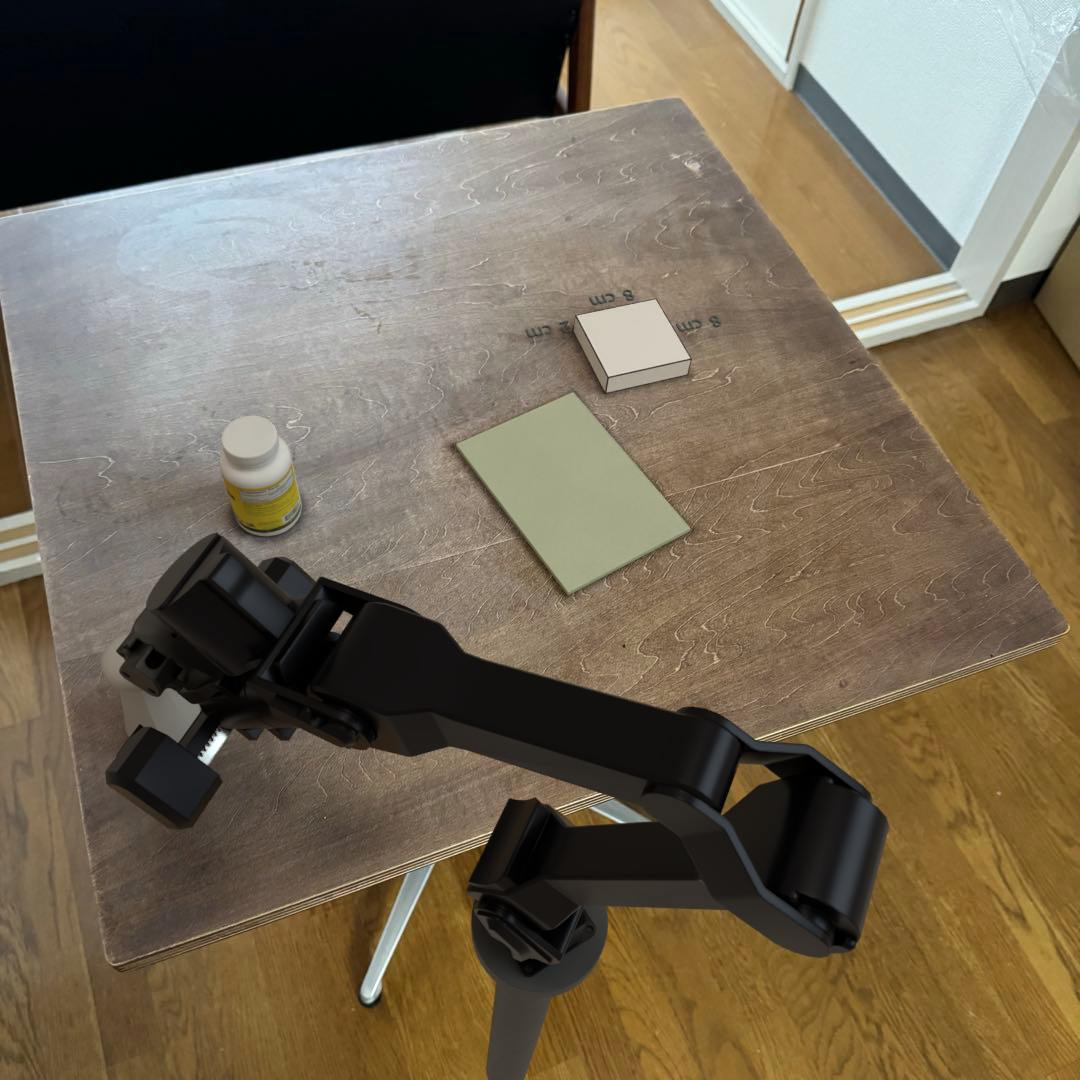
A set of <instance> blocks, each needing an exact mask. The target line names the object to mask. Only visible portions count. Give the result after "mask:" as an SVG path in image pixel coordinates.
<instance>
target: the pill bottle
mask: <svg viewBox="0 0 1080 1080" xmlns="http://www.w3.org/2000/svg"><path fill="white" fill-rule="evenodd" d="M220 440H221V446H222V449H221V451H220V454H219V458H218V464H219V469H220V473H221V476H222V480H223V483H224V486H225V490H226V492H227V496H228V498H229V501H230V505H231V509H232V511H233V514H234V518H235V520H236V522H237V524H238V525H239V526H240V527H241V528H242V529H243V530H244V531H245V532H247V533H249V534H252V535H254V536H258V537H259V536H260V537H274V536H277V535H280V534H283V533H285V532H287V531H289V530H290V529H291V528H293V526H294V525H295V524H296V523H297V522H298V520H299V518H300V517H301V514H302V510H303V509H302V508H303V503H302V497H301V493H300V488H299V485H298V479H297V476H296V475H297V474H296V471H295V466H294V462H293V461H294V460H293V456H292V452H291V450H290V447H289V445H288V444H287V442H286V441H285V440H284V439H283V438H282V437H280V436H279V434H278V431H277V428H276V427H275V425H274V423H272V422H271V420H268V419H267V418H265V417H263V416H259V415H246V416H241V417H237V418H235V419H234V420H232V421H230V423H228V424H227V425H226V426H225V427H224V429H223V430H222V434H221V439H220Z"/></svg>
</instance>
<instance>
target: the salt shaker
mask: <svg viewBox="0 0 1080 1080" xmlns="http://www.w3.org/2000/svg"><path fill="white" fill-rule="evenodd" d="M129 634H130V632H127V633H124V634H122V635H119V636H117V637H115V638H114V639H113V640H112V641H111V642H110V643H109V644H107V645H106V646H105V648H104V650H103V652H102V654H101V656H100V664H101V665H100V666H101V673H102V676H104V678H105V679H106V681H107V682H108V684H109V685H110V686H111V687H112V688H114V689H116V690H118V691H119V696H120V701H121V706H122V713H123V720H124V728H125V733H126V735H127V736H128V738H129V737H130V736H131V735H132V733H133V732H134V731H135V729H136V728H137V726H138V725H139V724H141V725H142V726H143V727H152V728H154V729H156V730H158V731H160V732H162V733H165V734H167V735H168V736H170V737H171V738H172V739H174V740H175V741H176V742H177V743H178V742H179V741H180V740H181V738H182V737H183V735H184V734H185V733H186V731H187V730H188V728H189V727H190V726H191V724H192V723H193V721H194V720H195V719H196V717H197V716H198V714H199V713H200V712H201V708H200V706H199V704H191V703H189V702H188V701H187V700H185V699H184V698H183V697H182V696H180V695H179V694H178V693H177V692H176V691H174V690H173V689H171V688H167V689H165V690H164V692H163V693H162V694H161V696H160V697H155V696H152V695H150V694H148V693H147V692H145V691H143V690H142V689H140V688H139V687H137V686H136V685H134V684H133V683H131V682H129V681H128V680H126V679H125V678H123V677H122V676H121V674H120V673H119V669H120V667H121V665H122V664H123V663H124V661H125V660H124V658H123V657H121V656H120V655H119V654H118V653H117V652H116V650H117V649H118V647H119V646H120V645H121V644H122V642H123V641H124V640H125V639H126V637H127V636H128V635H129Z"/></svg>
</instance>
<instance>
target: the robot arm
mask: <svg viewBox="0 0 1080 1080" xmlns="http://www.w3.org/2000/svg"><path fill="white" fill-rule="evenodd" d="M344 612H345V613H347V614H348V615H351V617H350V619H349V621H348V622H347V624H346V626H345V627H344V628H343V630H342V631H341V633H339V632H336V631H332V629H333V628H334V627H335V625H336V623H337V622H338V620H339V619H340V617H341V616H342V614H343V613H344ZM129 633H130V634H129V635H128V636H127V637H126V639H125V640H124V641H123V642H122V644H121V645H120V646H119V647H118V649H117V650H116V652H117V653H118V654H119V655H120V656H121V657H123V658H124V660H125V661H124V663H123V664H122V665H121V667H120V669H119V673H120V674H121V676H122V677H123V678H125V679H126V680H128V681H129V682H131V683H133V684H134V685H136V686H137V687H139V688H140V689H142V690H143V691H145V692H147V693H148V694H150V695H152V696H155V697H160V696H161V694H162V693H163V692H164V690H165V689H167V688H171V689H173V690H174V691H176V692H177V693H178V694H179V695H180V696H182V697H183V698H184V699H185V700H187V701H188V702H189V703H191V704H199V706H200V713H199V714H198V716H197V717H196V719H195V720H194V721H193V723H192V724H191V726H190V727H189V728H188V730H187V731H186V733H185V734H184V735H183V737H182V738H181V740H180V741H179V742H178V743H177V742H176V741H175V740H174V739H172V738H171V737H170V736H168V735H167V734H165V733H162V732H160V731H158V730H156V729H154V728H152V727H143V726H142V725H141V724H139V725H138V726H137V728H136V729H135V731H134V732H133V733H132V735H131V736H130V737H129V736H128V738H127V740H126V741H125V742H124V744H123V745H122V747H121V748H119V751H118V752H117V753H116V754H115V758H114V759H113V760H112V761H111V763H110V764H109V765H108V766H107V768H106V769H105V771H104V774H105V783H106V785H107V786H108V787H109V788H111V789H112V790H114V791H115V792H117V794H119V795H121V796H122V797H124V799H126V800H128V801H129V802H130V803H132V804H133V805H134V806H136V807H137V808H139V809H140V810H142V811H143V812H144V813H146V814H147V815H148V816H150V817H152V818H153V819H154V820H156V821H157V822H159V823H160V824H161V825H163V826H164V827H166V828H167V829H170V830H176V831H181V830H185V829H190V828H193V827H194V826H195V825H196V823H197V821H198V820H199V819H200V817H201V815H202V814H203V813H204V812H205V810H206V808H207V807H208V805H209V804H210V803H211V801H212V799H213V798H214V796H215V794H216V793H217V792H218V790H219V789H220V787H221V786H222V785H223V782H224V781H223V779H222V777H221V775H220V774H219V773H218V772H217V771H215V769H213V768H211V767H210V766H209V765H211V762H212V761H213V760H214V758H215V757H216V755H217V754H218V752H219V751H220V749H221V748H222V747H223V745H224V743H225V742H226V740H227V739H228V738H229V737H230V735H231V733H232V732H233V730H234V731H236V732H238V733H239V734H240V735H241V736H243V737H244V739H246V740H247V741H248V742H249V741H250V742H251V741H254V742H255V741H256V742H257V741H258V740H259V738H260V737H261V735H262V733H263V732H264V731H265V730H267V731H268V732H269V733H271V734H272V735H273V736H274V737H276V738H277V739H278V740H279V741H281V742H286V741H287V742H290V740H291V739H292V737H293V735H294V734H295V732H296V730H298V729H301V730H302V731H305V732H306V733H309V734H310V735H313V736H315V737H317V738H319V739H321V740H323V741H325V742H327V743H329V744H331V745H334V746H336V747H338V748H345V749H347V750H351V749H353V750H357V751H367V750H369V748H370V749H374V750H379V751H382V752H386V753H391V754H395V755H399V756H403V757H408V758H413V757H417V756H421V755H424V754H429V753H432V752H435V751H438V750H439V751H440V750H442V749H445V748H449V747H451V748H454V749H459V750H462V751H467V752H471V753H473V754H476V755H480V756H483V757H486V758H489V759H492V760H495V761H498V762H502V763H504V764H507V765H511V766H514V767H518V768H520V769H524V770H527V771H530V772H533V773H536V774H540V775H542V776H544V777H549V778H552V779H554V780H558V781H561V782H564V783H566V784H567V783H568V784H570V785H573V786H576V787H580V788H583V789H586V790H588V791H592V792H595V793H599V794H602V795H605V796H608V797H611V798H614V799H618V800H621V801H624V802H627V803H630V804H633V805H636V806H639V807H642V808H643V810H644V812H646V813H647V814H648V815H649V816H651V817H652V818H653V819H655V820H648V821H634V822H633V821H632V822H619V823H618V822H617V823H603V824H587V825H575V823H573V822H572V821H571V820H570V819H569V818H567V817H566V816H565V815H564V814H563V813H561V812H560V811H559V810H558V809H556V808H554V807H552V806H551V805H550V804H548V803H543V802H542V801H540V799H538V798H537V797H536V796H534V797H531V798H529V799H516V798H508V799H507V801H506V804H505V805H504V807H503V809H502V812H501V814H500V815H499V818H498V819H497V822H496V823H495V826H494V828H493V830H492V831H491V834H490V836H489V838H488V840H487V842H486V844H485V846H484V848H483V850H482V852H481V854H480V857H478V861H477V862H476V864H475V866H474V869H473V871H472V873H471V875H470V877H469V878H468V880H467V883H468V885H467V886H466V888H465V893H466V895H467V896H468V897H470V898H472V899H474V900H475V899H477V900H478V903H477V905H476V907H475V909H474V912H475V914H476V916H477V917H478V918H479V920H480V921H481V923H482V924H483V925H484V927H485V928H486V929H487V931H488V932H489V933H490V935H491V936H492V937H494V938H495V939H497V940H499V941H501V942H502V943H504V944H505V945H506V946H507V947H508V949H509V951H510V952H511V954H512V956H513V958H514V959H515V961H516V962H517V964H518V966H519V967H520V969H521V971H522V972H523V974H524V975H525V976H526V977H529V978H530V977H533V976H534V975H536V974H537V973H539V972H540V971H542V970H543V969H545V968H546V967H548V966H549V965H552V964H558V963H561V961H562V958H563V956H564V955H566V954H567V953H569V952H570V951H572V950H573V949H575V948H576V947H578V946H579V945H581V944H582V943H584V942H585V941H587V940H588V939H589V938H591V937H592V936H594V935H595V932H596V927H595V925H594V923H593V922H592V920H591V919H590V917H589V916H588V914H587V912H586V911H585V909H584V906H585V905H586V906H606V907H621V908H644V909H645V908H647V909H649V908H650V909H651V908H652V909H679V910H681V909H682V910H706V911H707V910H710V911H728V912H729V913H730V914H732V915H734V916H735V917H737V919H739V920H741V921H742V922H743V923H745V924H746V925H748V926H749V927H751V928H752V930H753V929H754V930H755V931H756V932H758V933H759V934H761V936H763V937H765V938H766V939H767V940H768V941H770V942H772V943H773V944H774V945H777V946H779V947H781V948H783V949H785V950H788V951H790V952H791V953H795V954H798V955H801V956H805V957H809V958H816V959H817V958H818V959H823V958H828V957H829V956H830V955H831V954H833V955H834V954H846V953H849V952H851V951H854V950H855V949H856V947H857V944H858V943H859V941H860V939H861V938H862V933H863V929H864V926H865V921H866V918H867V914H868V910H869V906H870V902H871V899H872V896H873V892H874V887H875V884H876V879H877V876H878V873H879V868H880V865H881V861H882V857H883V853H884V848H885V846H886V841H887V838H888V835H889V831H890V830H889V829H890V823H889V821H888V817H887V816H886V814H885V813H884V812H883V811H882V810H881V809H880V807H878V806H877V805H875V803H873V801H874V799H873V796H872V794H871V792H870V791H869V790H868V789H867V788H866V787H865V785H863V784H862V783H861V782H859V781H858V780H857V779H855V778H854V777H853V776H851V775H850V774H849V773H847V772H846V771H845V770H843V769H842V768H841V767H840V766H839V765H837V764H836V763H834V762H833V761H832V760H831V759H830V758H828V757H827V756H825V755H824V754H823V753H821V752H820V751H819V750H817V749H816V748H815V747H814V746H812V745H809V744H807V743H795V742H783V741H782V742H781V741H767V740H758V739H755V738H754V737H753V736H751V735H750V733H747V732H746V731H745V730H744V729H742V728H741V727H740V726H738V725H737V724H736V723H734V722H733V721H732V720H730V719H729V718H727V717H725V716H724V715H722V714H720V713H719V712H716V711H713V710H711V709H707V708H705V707H699V706H693V705H691V706H682V707H680V708H678V709H677V710H676V711H674V710H670V709H666V708H662V707H659V706H656V705H652V704H649V703H645V702H641V701H637V700H634V699H630V698H627V697H623V696H619V695H616V694H612V693H610V692H605V691H602V690H597V689H594V688H591V687H586V686H583V685H579V684H576V683H572V682H569V681H565V680H562V679H558V678H554V677H552V676H551V677H550V676H546V675H543V674H541V673H540V674H539V673H537V672H532V671H528V670H525V669H521V668H518V667H515V666H510V665H507V664H503V663H500V662H496V661H492V660H488V659H485V658H482V657H480V656H477V655H474V654H472V653H469V652H466V651H465V650H464V649H463V648H462V647H461V645H460V644H459V642H457V640H456V639H455V638H454V637H453V636H452V634H451V633H450V632H449V630H448V629H447V628H446V626H444V624H442V623H441V622H439V621H437V620H434V619H432V618H429V617H426V616H424V615H421V613H419V612H418V611H416V610H414V609H412V608H410V607H408V606H406V605H404V604H401V603H398V602H396V601H393V600H390V599H387V598H384V597H381V596H379V595H377V594H376V595H375V594H372V593H370V592H368V591H364V590H362V589H358V588H355V587H353V586H350V585H347V584H344V583H341V582H339V581H336V580H333V579H330V578H328V577H325V576H319V577H318V578H317V579H316V580H315V579H314V578H313V577H312V576H311V575H310V574H308V572H307V571H305V570H304V568H302V567H301V566H300V565H299V564H298V563H297V562H296V561H295V560H292V559H290V558H288V557H286V556H274V557H269V558H266V559H263V560H261V562H260V563H259V564H258V566H257V565H256V564H255V563H254V562H253V561H252V560H250V559H249V557H248V556H246V555H245V554H244V553H243V552H242V551H241V550H240V549H238V548H237V547H236V546H235V545H234V544H233V543H232V542H231V541H230V540H229V539H227V538H226V537H225V536H224V535H222V534H219V533H218V532H212V533H209V534H208V535H206V536H204V537H202V538H201V539H200V540H198V541H197V542H196V543H194V544H193V545H190V547H188V549H187V550H186V551H184V552H183V553H182V554H181V555H180V556H179V557H177V559H176V560H175V561H173V563H172V564H171V565H170V566H169V567H168V568H167V569H166V570H165V572H164V573H163V574H162V575H161V576H160V578H159V579H158V581H156V583H155V584H154V586H153V587H152V589H151V591H150V593H149V594H148V596H147V599H146V602H145V608H144V609H142V611H141V612H140V614H139V615H138V616H137V618H136V619H135V621H133V625H132V627H131V630H130V632H129ZM741 764H742V765H759V766H763V767H765V768H766V769H767V770H769V771H770V772H771V773H772V774H774V775H775V776H776V777H778V779H775V780H770V781H767V782H764V783H760V784H758V785H757V786H755V787H754V788H753V789H752V790H750V791H749V792H748V793H747V794H746V795H744V797H742V798H741V799H740V800H738V802H737V803H735V804H733V806H731V807H730V808H729V809H728V810H727V811H725V812H724V813H723V809H724V807H725V804H726V801H727V798H728V796H729V793H730V790H731V787H732V785H733V782H734V780H735V776H736V774H737V771H738V769H739V765H741ZM722 813H723V814H722ZM588 927H591V928H592V932H591V933H589V932H587V930H586V929H587V928H588ZM527 967H531V968H532V970H533V971H532V972H531V973H528V972H527V971H526V968H527Z"/></svg>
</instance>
